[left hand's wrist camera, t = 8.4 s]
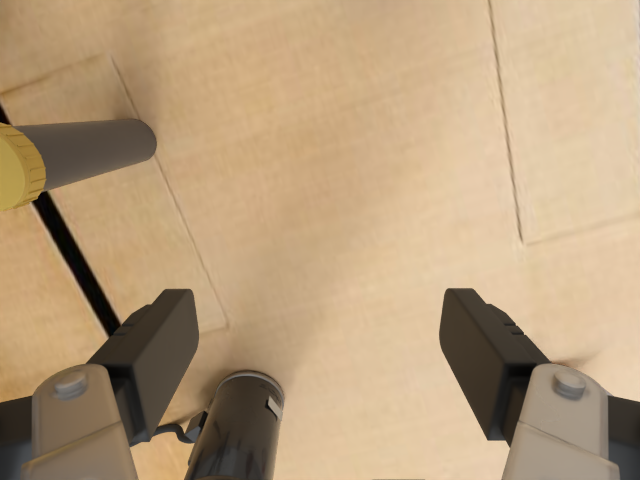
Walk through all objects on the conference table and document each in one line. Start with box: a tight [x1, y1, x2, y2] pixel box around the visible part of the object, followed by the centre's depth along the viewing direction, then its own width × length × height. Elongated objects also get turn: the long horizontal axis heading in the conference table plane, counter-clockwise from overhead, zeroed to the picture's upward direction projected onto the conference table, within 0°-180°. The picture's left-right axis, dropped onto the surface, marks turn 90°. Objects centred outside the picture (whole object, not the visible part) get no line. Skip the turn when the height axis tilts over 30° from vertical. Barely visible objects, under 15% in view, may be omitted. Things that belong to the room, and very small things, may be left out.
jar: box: [11, 119, 156, 192], centre depth 29 cm, size 4×4×18 cm
